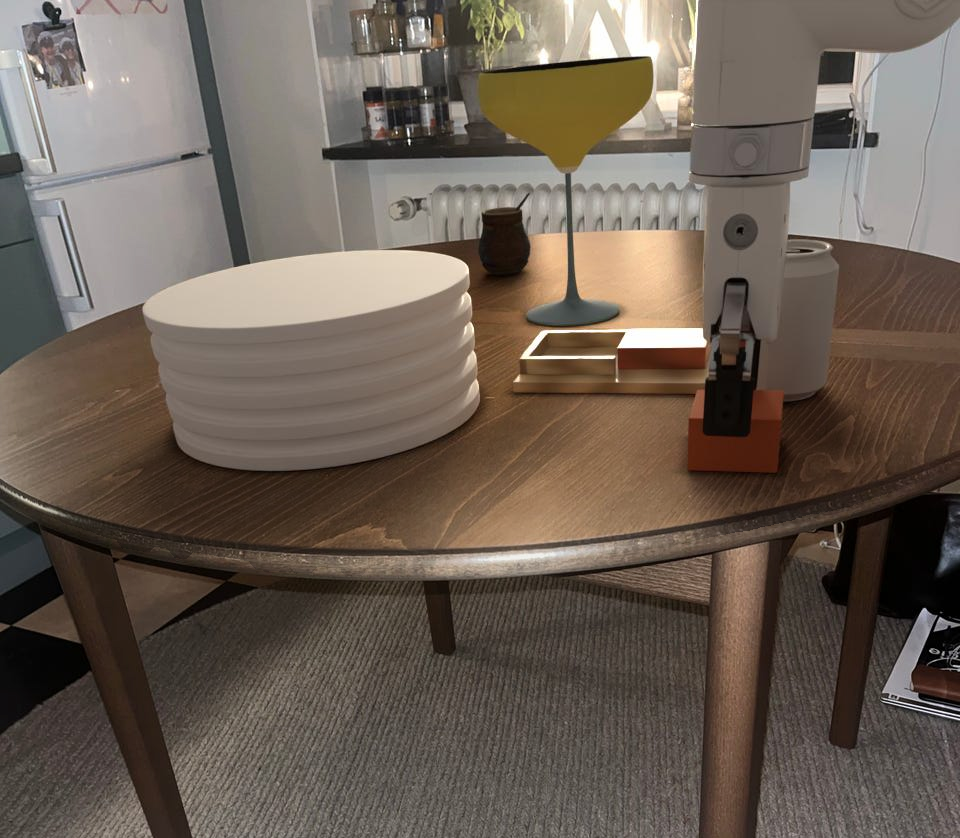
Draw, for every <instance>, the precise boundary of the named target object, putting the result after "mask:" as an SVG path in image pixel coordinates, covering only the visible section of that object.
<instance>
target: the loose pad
mask: <svg viewBox="0 0 960 838" xmlns="http://www.w3.org/2000/svg"><path fill="white" fill-rule="evenodd" d="M704 395H705V390H697V393H696V394H695V397H694V399H693V403H692V406H691V410H690V413H689V416H688V425H687V427H688V428H687V456H686V457H687V459H686V460H687V461H686V470H687V471H699V472H729V473H730V472H731V473H732V472H735V473H764V474H765V473H767V474H777V473H778V468H779V458H780V457H779V456H780V447H781V446H780V445H781V434H782V433H781V432H782V419H783V410H784V409H783V408H784V401H783V397H784V390H754V392H753V404H752V415H751V427H750V434H749V435H748V436H746V437H726V436H706V435H704V434H703V412H704Z"/></svg>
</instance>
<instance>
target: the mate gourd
mask: <svg viewBox="0 0 960 838" xmlns="http://www.w3.org/2000/svg"><path fill="white" fill-rule="evenodd" d="M530 194H531V192H527V193H526V194H525V195H524V197H523V199H522V200H521V201H520V202H519V204H518V205H517V206H516V207H515V206H512V207H511V206H503V207H494V208H489V209H485V210H483V211H481V223H482V230H481V234H480V238H479V241H478V249H477V251H478V256H479V260H480V262H481V265H482V267H483V269H484V270H485V271H487V273H489V275H492V276H509V275H515V274H519V273H521V272H522V271H523V270H524V269H525V267H526V266H527V265H528V264H529V258H530V256H531V242H530V238H529V235H528V233H527V232H526V229H525V227H524V223H523V220H524V219H523V218H524V217H523V215H524V214H523V209H522V208H521V207H522V206H524V204H525V202H526V201H527V199H528V198H529V197H530Z"/></svg>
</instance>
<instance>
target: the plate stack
mask: <svg viewBox="0 0 960 838" xmlns="http://www.w3.org/2000/svg"><path fill="white" fill-rule="evenodd" d="M469 270H470V269H469V266H468V264H466V263H465V261H463V260H461V259H459V258H457V257H453V256H450V255H447V254H442V253H437V252H431V251H430V252H429V251H422V250H407V249H406V250H405V249H369V250H350V251H334V252H324V253H315V254H305V255H298V256H289V257H284V258H277V259H276V258H275V259H271V260H266V261H265V260H264V261H259V262H253V263H249V264H248V263H247V264H243V265H239V266H235V267H230V268H226V269H221V270H217V271H214V272H210V273H207V274H202V275H200V276H199V275H198V276H195V277H193V278H190V279H187V280H184V281H182V282H181V281H180V282H179V283H176V284H173V285H171V286H169V287H167V288H164V289H163V290H161V291H159V292H157V293H155V294H154V295H152V296H150V297H149V298H148V299H147V300H146V301H145V302H144V304H143V305H142V308H141V309H142V310H141V311H142V315H143V319H144V322H145V326H146V328H147V329H148V331H149V332H151V333H152V334H151V335H150V339H149V341H150V346H151V350H152V353H153V357H154V358H155V360H156V362H158V363H159V364H158V366H157V367H158V368H157V371H158V376H159V380H160V384H161V387H162V389H163V390H164V391H165V392H166V394H165V402H166V406H167V410H168V413H169V416H170V418H171V420H172V421H173V423H172V429H173V433H174V437H175V440H176V441H175V442H176V444H177V446H178V447H179V449H180V450H181V451H182V452H184V454H186V455H188V456H189V457H191V458H193V459H195V460H197V461H199V462H201V463H202V462H203V463H205V464H208V465H212V466H216V467H222V468H226V469H234V470H243V471H255V472H257V471H258V472H259V471H260V472H290V471H306V470H317V469H326V468H335V467H341V466H347V465H352V464H358V463H362V462H368V461H372V460H377V459H381V458H384V457H389V456H393V455H396V454H399V453H402V452H405V451H408V450H412V449H415V448H417V447H420V446H424V445H425V444H428V443H430V442H432V441H435V440H438V439H439V438H442V437H443V436H445V435H448V434H449V433H452V431H454V430H456V429H457V428H459V427H461V426H462V425H464V423H466V422H467V421H468V420H470V418H472V416H473V415H474V414H475V412H477V409H478V408H479V405H480V400H481V396H480V395H481V394H480V386H479V385H480V384H479V381H478V379H477V376H478V361H477V354H476V352H475V351H474V349H475V345H476V338H475V329H474V328H475V327H474V325H473V324H472V322H471V320H472V318H473V303H472V298H471V295H470V294H469V293H468V290H469V288H470V284H471V283H470V282H471V281H470V271H469Z"/></svg>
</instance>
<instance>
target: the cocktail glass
mask: <svg viewBox="0 0 960 838" xmlns="http://www.w3.org/2000/svg"><path fill="white" fill-rule="evenodd" d="M477 77H478V78H477V97H478V104H479V108H480V110H481V113H482V114H483V116H484V117H485V118H486V119H487V120H488V121H489V122H490V123H491V124H493V126H495V127H496V128H498V129H499V130H500V131H502V132H504V133H506V134H508V135H509V136H512V137H513V138H515V139H517V140H520V141H522V142H524V143H526V144H528V145H529V146H532V147H534V148H535V149H537V150H538V151H540V152H542V153H543V154H545V156H546V157H547V158H548V159H549V160H550V162H551V163H552V164H553V166H554V167H555V168H556V170H557V171H558V172H559V173H561V174H564V181H565V205H566V209H565V210H566V238H567V239H566V243H567V245H566V246H567V280H566V291H565V295H564V298H563V299H562V300H557V301H552V302H547V303H544V304H541V305H537V306H535V307H532V308H531V309H529V310H528V311H527V312H526V319H527V320H528V321H529V322H531V323H534V324H537V325H541V326H551V327H573V326H583V325H584V326H585V325H590V324H596V323H600V322H604V321H607V320H610V319H612V318H614V317H615V316H618V314H619V313H620V311H621V310H620V306H619V305H618V304H617V303H614V302H611V301H606V300H601V299H592V298H591V299H587V298H586V299H585V298H581V297H580V294H579V291H578V286H577V280H576V267H575V248H574V228H573V227H574V224H573V223H574V222H573V200H572V199H573V198H572V197H573V196H572V195H573V194H572V174H573V173H575V172H576V171H577V170H578V169H579V168H580V166H581V164H582V163H583V161H584V159H585V158H586V156H587V154H588V153H589V152H590V151H591V150H592V148H594V147H595V146H596V145H598V143H600V142H602V140H604V139H605V138H607V137H608V136H609V135H611V134H613V133H614V132H615V131H617V130H619V129H620V128H621V127H623V126H624V125H625V124H627V123H628V122H629V121H631V120H632V119H633V118H634V117H636V115H638V114H639V113H640V112H641V111H642V110H643V108H644V107H645V106H646V105H647V104H648V102H649V101H650V99H651V96H652V93H653V88H654V77H655V76H654V64H653V59H652V57H651V56H649V55H639V56H637V55H635V56H620V57H617V56H616V57H607V58H594V59H581V60H571V61H561V62H560V61H559V62H551V63H541V64H540V63H539V64H533V65H523V66H513V67H507V68H498V69H493V70H492V69H491V70H486V71H482V72H480V73H478V76H477Z"/></svg>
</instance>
